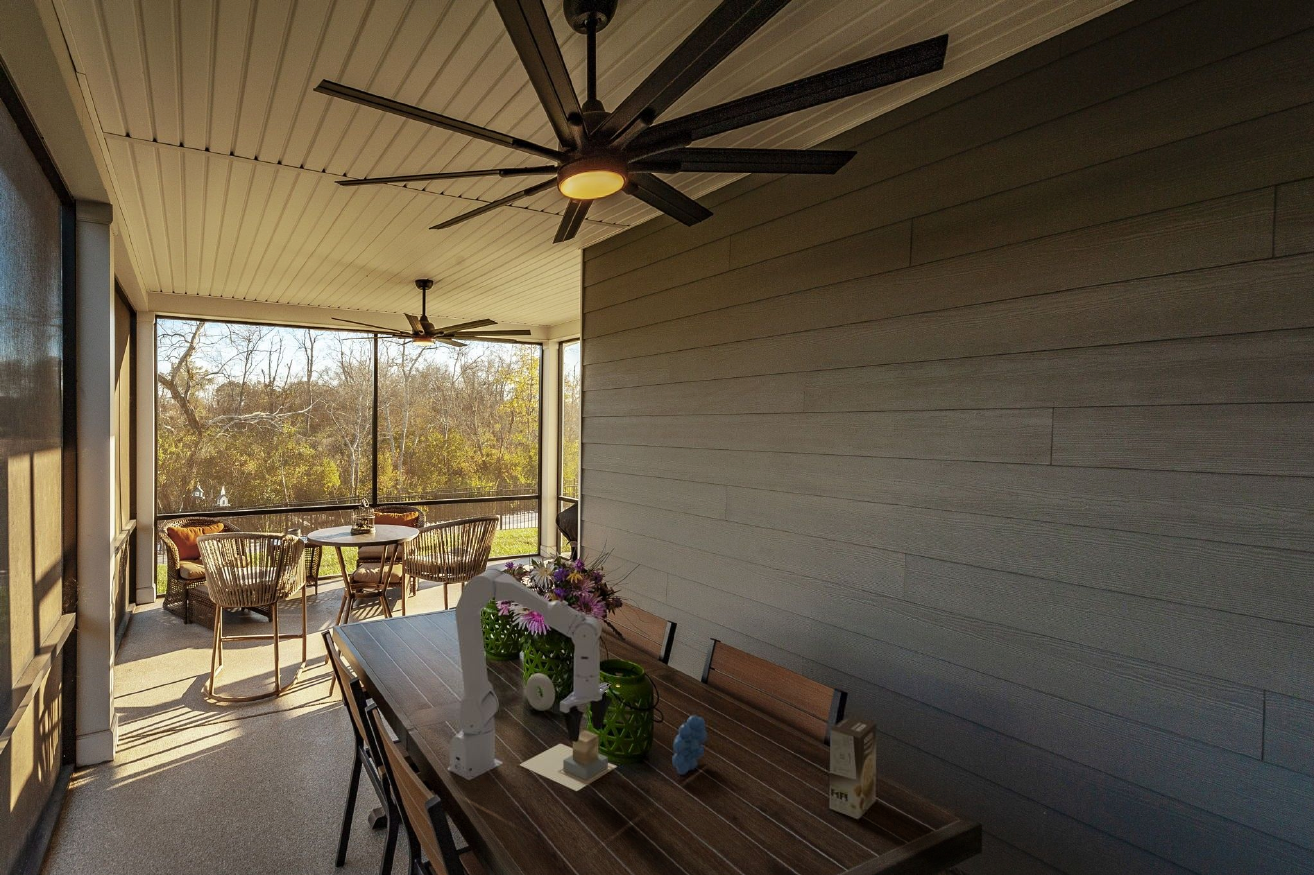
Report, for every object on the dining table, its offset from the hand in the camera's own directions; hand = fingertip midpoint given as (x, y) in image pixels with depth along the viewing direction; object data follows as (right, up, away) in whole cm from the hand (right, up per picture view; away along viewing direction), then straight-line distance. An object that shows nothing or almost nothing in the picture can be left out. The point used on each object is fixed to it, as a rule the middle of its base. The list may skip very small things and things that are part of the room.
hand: (585, 734), depth 142 cm
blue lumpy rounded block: (+23, -9, +2) cm, 24 cm away
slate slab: (0, -8, 0) cm, 8 cm away
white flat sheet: (-4, -9, +2) cm, 10 cm away
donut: (-16, -9, +33) cm, 38 cm away
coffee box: (+56, -9, -12) cm, 58 cm away
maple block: (0, -5, 0) cm, 5 cm away
